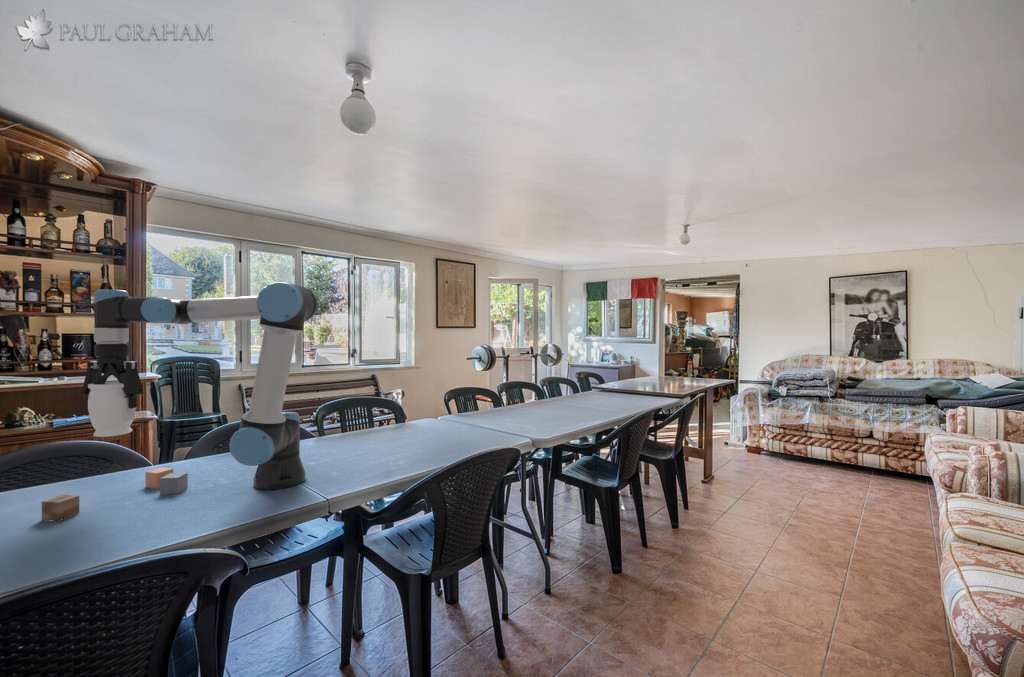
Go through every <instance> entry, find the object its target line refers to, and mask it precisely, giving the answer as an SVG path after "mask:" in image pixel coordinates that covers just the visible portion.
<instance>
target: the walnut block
mask: <svg viewBox="0 0 1024 677" xmlns="http://www.w3.org/2000/svg"><path fill="white" fill-rule="evenodd" d="M78 513H79V514H80V495H74V494H62V495H59V496H55V497H51V498H49V499H46V500H42V501H41V521H44V520H53V521H52V522H60V521H59V520H61V519H64V518H66V519H68V518H67V517H69V518H71V517H70V516H72V517H74V516H73V515H75V514H77V515H79V514H78ZM75 516H76V515H75ZM64 520H65V519H64ZM61 521H62V520H61Z"/></svg>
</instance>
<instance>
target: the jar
mask: <svg viewBox="0 0 1024 677" xmlns="http://www.w3.org/2000/svg"><path fill="white" fill-rule="evenodd" d="M123 387H124V384H122V383H119V381H118V380H116V381H115V380H114V381H106V382H105V384H99V385H98V384H94V383H93V384H88V388H89V389H90V390H91V391H90V393H89V397H88V396H87V397H88V399H87V411H88V415H89V419H90V423H91V426H92V428H94V430H95V431H94V432H93V435H92V436H93V437H97V438H99V437H100V438H106V437H108V438H109V437H115V436H116V437H117V436H122V435H123V436H124V435H126V434H130V433H132V432H133V428H131V425H132V424H133V421H134V419H131V420H124V398H125V396H126V394H125V392H124V391H123V389H122V388H123ZM89 389H88V390H89ZM136 409H137V407H136V408H135V411H136Z"/></svg>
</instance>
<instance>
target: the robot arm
mask: <svg viewBox="0 0 1024 677" xmlns="http://www.w3.org/2000/svg"><path fill="white" fill-rule="evenodd" d="M93 295H94V296H93V303H92V306H93V318H94V326H93V341H94V342H95V343H96V344H94V347H93V349H94V357H95V358H97V360H91V361H90V360H89V361H87V362H86V370H87V371H86V374H85V377H84V380H83V385H82V388H81V394H82V395H86V396H87V397H89V393H90V391H91V390H90V389H89V388H88V384H93V383H94V384H98V385H99V384H105V382H107V380H108V379H109V377H112V376H113V377H114V378H115V379H116V380H117V381H119V383H122V384H124V387H123V388H122V389H123V391H124V392H125V394H126V396H125V398H124V420H131V419H133V420H135V419H136V410H135V408H136V409H137V407H138V406H137V404H138V402H137V398H138V396H140V395H144V393H145V392H144V389H143V384H142V381H141V378H140V374H139V371H138V362H137V361H136V360H134V361H133V360H132V361H129V360H128V359H127V357H128V356H130V344H128V342H129V341H130V337H129V336H130V334H129V328H130V323H133V324H134V323H142V324H144V323H145V324H148V323H149V324H176V325H177V324H178V325H188V324H192V323H193V324H194V323H209V322H210V323H211V322H212V323H213V322H230V321H247V320H249V321H250V320H259V325H260V327H261V329H262V330H263V336H262V340H261V347H260V351H259V357H258V362H257V367H256V373H255V378H254V383H253V387H252V394H251V398H250V403H249V409H248V411H246V412H245V413H243V414H242V416H241V420H240V425H239V428H238V430H237V431H235V432H234V433H233V435H232V436H231V438H230V439H229V445H228V447H229V451H230V454H231V456H232V457H233V458H234V460H235V461H237V462H238V463H239V464H242V465H244V466H247V467H249V466H250V467H256V466H257V468H256V470H255V474H254V477H253V487H254V488H256V489H258V490H280V489H284V488H285V489H286V488H290V487H294V486H296V485H299V484H301V483H303V482H304V481H305V480H306V470H305V467H304V465H303V462H302V460H301V457H300V456H301V455H300V452H301V450H300V448H301V447H300V445H301V444H300V443H301V442H300V440H301V439H300V436H301V435H300V434H301V425H300V424H301V421H300V415H299V413H298V412H295V411H283V407H284V401H285V396H286V390H287V385H288V380H289V374H290V370H291V365H292V360H293V359H292V358H293V354H294V350H295V349H294V348H295V344H296V338H297V336H298V335H299V334H300V333H303V331H304V326H305V322H307V321H309V320H310V319H312V318H313V317H314V316H315V315H316V314H317V311H318V306H319V304H318V303H319V302H318V299H317V297H316V295H315V294H314V292H313V291H312V290H310V289H309V288H307V287H305V286H301V285H297V284H295V283H291V282H289V281H288V282H287V281H276V282H275V281H274V282H272V283H269V284H267V285H266V286H264V287H263V288H262V289H260V292H259V293H258V295H250V296H249V295H247V296H233V297H232V296H231V297H229V296H228V297H210V298H195V299H193V298H192V299H170V298H169V297H166V296H165V297H161V296H129V292H128V291H127V290H123V289H109V288H108V289H106V288H103V289H97V290H96V291H94V294H93Z"/></svg>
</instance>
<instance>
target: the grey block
mask: <svg viewBox="0 0 1024 677" xmlns="http://www.w3.org/2000/svg"><path fill="white" fill-rule="evenodd" d="M188 476H189V474H188V472H173V473H170V474H168V475H166V476H164V477H162V478H160V488H159V494H160V495H176V494H177V495H178V493H179V494H181V493H182V492H183V490H184V491H185V490H187V489H188V488H189V487H188V486H189V485H188V484H189V483H188V481H189V480H188V478H189V477H188ZM181 491H182V492H181Z"/></svg>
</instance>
